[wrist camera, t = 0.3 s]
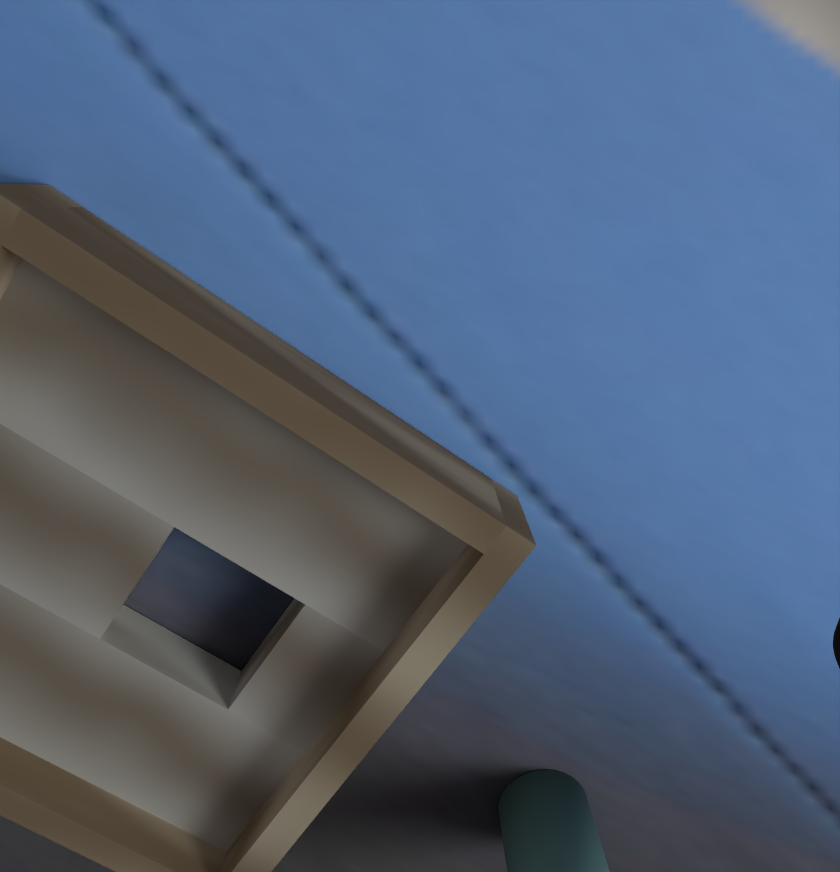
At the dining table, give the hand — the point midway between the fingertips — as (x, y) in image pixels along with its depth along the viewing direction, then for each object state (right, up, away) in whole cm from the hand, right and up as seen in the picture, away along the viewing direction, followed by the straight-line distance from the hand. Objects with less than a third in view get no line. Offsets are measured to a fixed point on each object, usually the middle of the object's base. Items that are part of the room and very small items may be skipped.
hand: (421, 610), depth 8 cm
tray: (-8, -2, +16) cm, 18 cm away
